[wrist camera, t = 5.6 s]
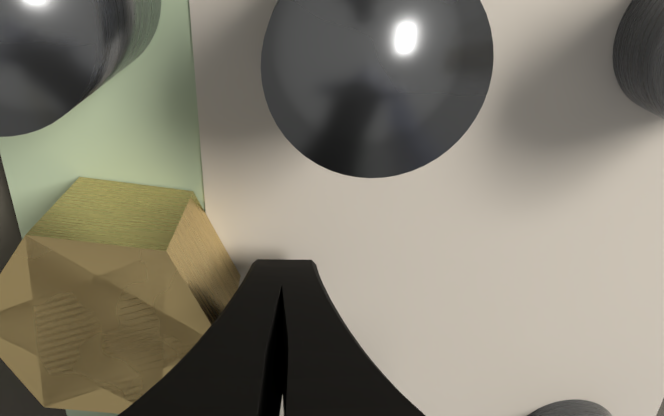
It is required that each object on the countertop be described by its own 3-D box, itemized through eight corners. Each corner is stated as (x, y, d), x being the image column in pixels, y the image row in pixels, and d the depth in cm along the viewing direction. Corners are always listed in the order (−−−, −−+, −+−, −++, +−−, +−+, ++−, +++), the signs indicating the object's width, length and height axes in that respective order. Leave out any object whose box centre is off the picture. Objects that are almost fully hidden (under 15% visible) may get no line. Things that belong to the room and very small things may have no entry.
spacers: (594, 481, 17) (663, 612, 13) (104, 492, 16) (54, 634, 13) (806, -76, 10) (1047, -79, 7) (-37, -113, 9) (-222, -134, 6)
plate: (614, 460, 17) (627, 483, 17) (95, 469, 16) (85, 494, 16) (823, -75, 11) (862, -74, 10) (-42, -111, 10) (-71, -114, 9)
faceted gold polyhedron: (233, 343, 13) (219, 422, 11) (37, 323, 13) (-18, 402, 11) (248, 198, 12) (233, 258, 9) (20, 169, 11) (-48, 226, 9)
